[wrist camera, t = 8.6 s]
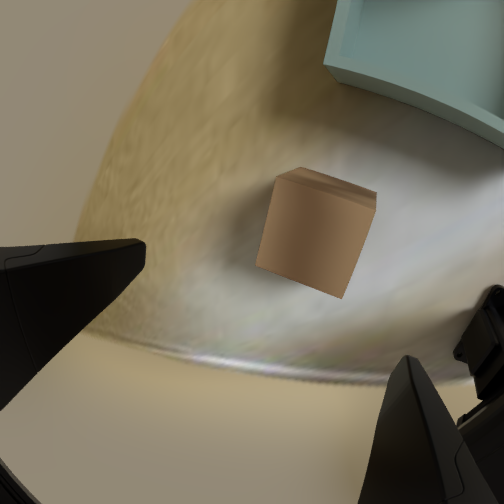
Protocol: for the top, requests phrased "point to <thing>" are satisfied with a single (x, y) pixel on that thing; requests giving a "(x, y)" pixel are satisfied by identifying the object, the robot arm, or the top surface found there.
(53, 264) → the robot arm
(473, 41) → the tote
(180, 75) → the top surface
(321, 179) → the walnut cube
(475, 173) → the top surface
